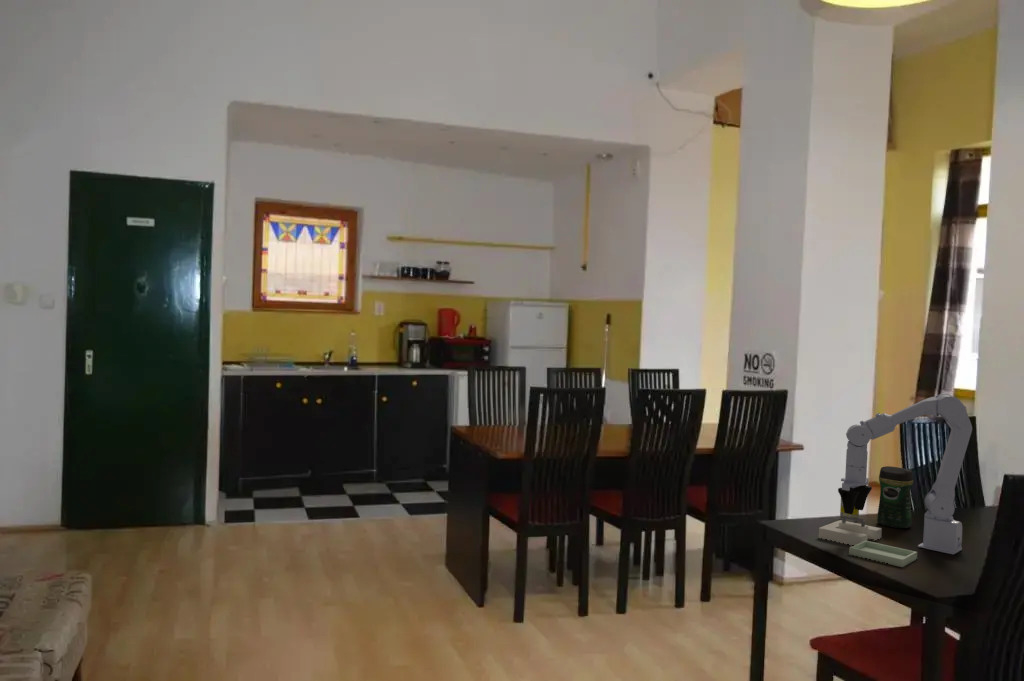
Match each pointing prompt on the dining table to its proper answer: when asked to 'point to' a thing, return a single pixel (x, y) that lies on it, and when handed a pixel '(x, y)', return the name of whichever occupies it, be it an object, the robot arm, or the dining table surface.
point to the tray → (883, 553)
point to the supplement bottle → (842, 513)
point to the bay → (847, 534)
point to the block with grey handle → (854, 525)
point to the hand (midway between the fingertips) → (853, 511)
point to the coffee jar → (895, 497)
